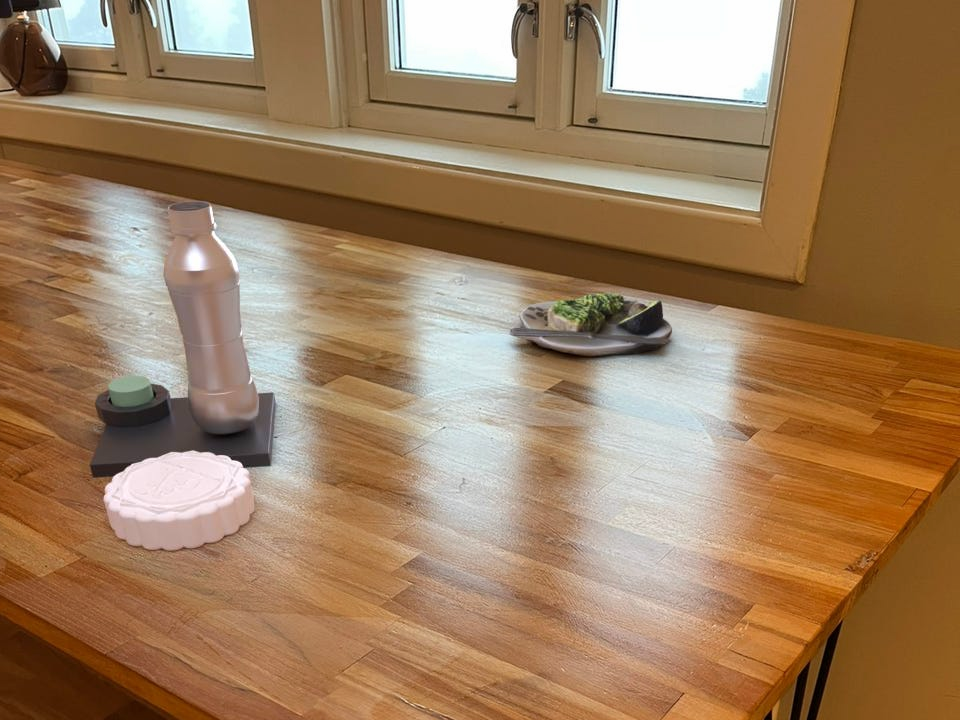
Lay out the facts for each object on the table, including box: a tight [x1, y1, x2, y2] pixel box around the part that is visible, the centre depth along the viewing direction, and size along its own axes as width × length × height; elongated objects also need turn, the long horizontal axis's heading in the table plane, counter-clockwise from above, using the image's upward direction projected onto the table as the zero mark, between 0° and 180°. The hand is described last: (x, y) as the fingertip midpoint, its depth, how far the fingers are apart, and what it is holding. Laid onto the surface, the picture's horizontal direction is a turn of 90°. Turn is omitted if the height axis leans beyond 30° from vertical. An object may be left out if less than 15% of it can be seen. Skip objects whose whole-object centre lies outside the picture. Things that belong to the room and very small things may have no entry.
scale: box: [89, 383, 277, 479], centre depth 93 cm, size 17×14×3 cm
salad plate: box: [509, 292, 673, 357], centre depth 114 cm, size 19×18×5 cm
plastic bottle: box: [163, 200, 259, 434], centre depth 87 cm, size 6×7×20 cm
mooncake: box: [103, 451, 255, 552], centre depth 81 cm, size 12×12×4 cm
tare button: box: [107, 375, 154, 407], centre depth 95 cm, size 4×4×2 cm
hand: (8, 12), depth 82 cm, fingers open, 9 cm apart
